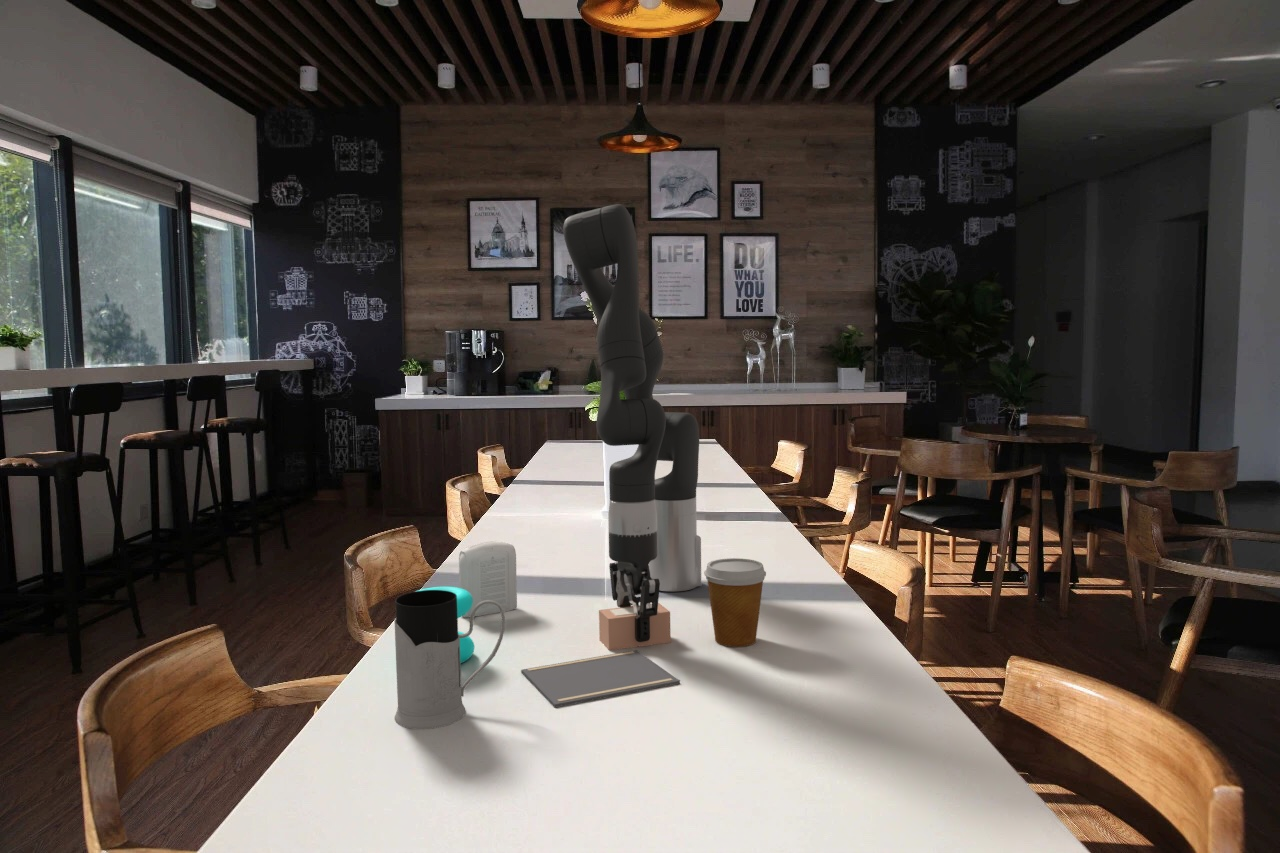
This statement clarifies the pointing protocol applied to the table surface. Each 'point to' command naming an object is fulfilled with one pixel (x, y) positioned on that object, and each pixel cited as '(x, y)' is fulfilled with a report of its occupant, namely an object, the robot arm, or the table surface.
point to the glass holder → (431, 658)
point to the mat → (597, 678)
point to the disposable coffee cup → (735, 599)
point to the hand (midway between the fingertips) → (634, 635)
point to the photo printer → (489, 576)
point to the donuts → (462, 608)
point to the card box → (631, 627)
